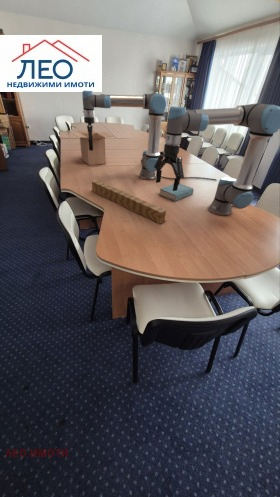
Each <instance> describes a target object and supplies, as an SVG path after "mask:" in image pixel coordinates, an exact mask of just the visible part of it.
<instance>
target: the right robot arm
mask: <svg viewBox="0 0 280 497" xmlns="http://www.w3.org/2000/svg"><path fill="white" fill-rule="evenodd" d="M166 122H167V123H166V131H165V138H164V145H163V151H160V152H159V154H160V155H159V158H158V160H157V162H156V164H155V166H154V168H156V170H157V171H155V174H156V178H155V183H161V179H162V172H163V170H162V169H163V168H164V166H165V165H166V164H167V165H170V167H172V170H173V173H174V176H175V177H174V178H175V179H173V184H174V186H173V191H176V190H177V189H178V185H179V183H180V182H181V179H185V178H184V177H185V174H184V169H183V157H181V156H180V157H178V155H179V153H180V148H181V147H180V144H181V143H182V142H181V141H182V136H183V132H197V133H199V132H205V131H206V130H207V128H208V126H222V125H223V126H224V125H233V126H234V127H244V128H247V129H249V132H248V135H249V137H250V138H249V141H248V144H247V147H246V150H245V153H244V156H243V160H242V162H241V165H240V169H239V172H238V175H237V178H233V177H221V178H220V179H219V181H218V183H217V187H216V191H215V195H214V198H213V201H212V202H211V203H210V204H209V206H208V211H209V212H210V213H212V214H213V215H217V216H223V217H225V216H230V215H231V214H232V208H236V209H239V210H241V209H245V208H247V207H248V206H250V204H251V203H252V202H253V201H254V200H260V201H261V198H260V197H254V193H253V192H252V191H253V188H254V186H253V184H252V183H253V181H254V179H255V175H256V173H257V170H258V167H259V166H260V162H261V159H262V157H263V154H264V152H265V149H266V146H267V143H268V141H269V140H270V139H272V138H273V137H274V134H276V133H277V132H279V130H280V106H279V105H275V104H267V103H260V102H259V103H258V102H257V103H249V104H242V105H236V106H235V107H227V108H226V107H225V108H223V107H222V108H205V109H204V108H203V109H186V107H184V106H174V105H173V106H171V107H169V110H168V114H167V121H166ZM180 184H181V183H180Z"/></svg>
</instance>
